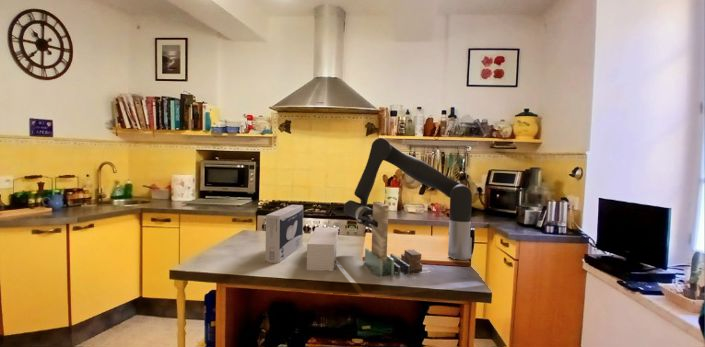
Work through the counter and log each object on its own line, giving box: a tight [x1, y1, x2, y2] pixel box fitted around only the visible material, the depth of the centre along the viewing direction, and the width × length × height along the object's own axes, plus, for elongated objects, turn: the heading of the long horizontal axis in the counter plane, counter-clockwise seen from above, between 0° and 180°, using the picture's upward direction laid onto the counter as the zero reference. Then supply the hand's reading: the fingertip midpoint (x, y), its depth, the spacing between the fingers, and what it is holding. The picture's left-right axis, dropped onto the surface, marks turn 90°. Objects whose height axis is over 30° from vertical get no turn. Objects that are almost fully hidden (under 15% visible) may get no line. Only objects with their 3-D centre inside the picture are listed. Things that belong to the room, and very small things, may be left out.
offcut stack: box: [400, 249, 423, 270], centre depth 149 cm, size 5×9×6 cm, turn 17°
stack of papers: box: [306, 226, 339, 272], centre depth 163 cm, size 32×11×11 cm, turn 0°
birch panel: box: [371, 201, 389, 263], centre depth 145 cm, size 2×10×22 cm, turn 17°
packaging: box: [264, 204, 304, 264], centre depth 170 cm, size 30×6×20 cm, turn 168°
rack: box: [363, 247, 433, 277], centre depth 148 cm, size 22×17×8 cm
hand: (380, 224), depth 144 cm, fingers closed on birch panel, 2 cm apart
